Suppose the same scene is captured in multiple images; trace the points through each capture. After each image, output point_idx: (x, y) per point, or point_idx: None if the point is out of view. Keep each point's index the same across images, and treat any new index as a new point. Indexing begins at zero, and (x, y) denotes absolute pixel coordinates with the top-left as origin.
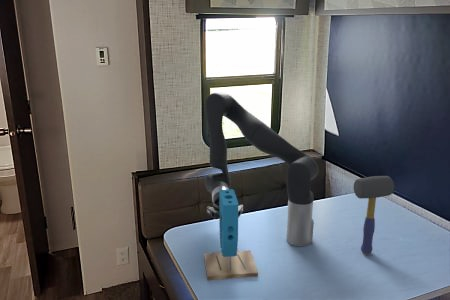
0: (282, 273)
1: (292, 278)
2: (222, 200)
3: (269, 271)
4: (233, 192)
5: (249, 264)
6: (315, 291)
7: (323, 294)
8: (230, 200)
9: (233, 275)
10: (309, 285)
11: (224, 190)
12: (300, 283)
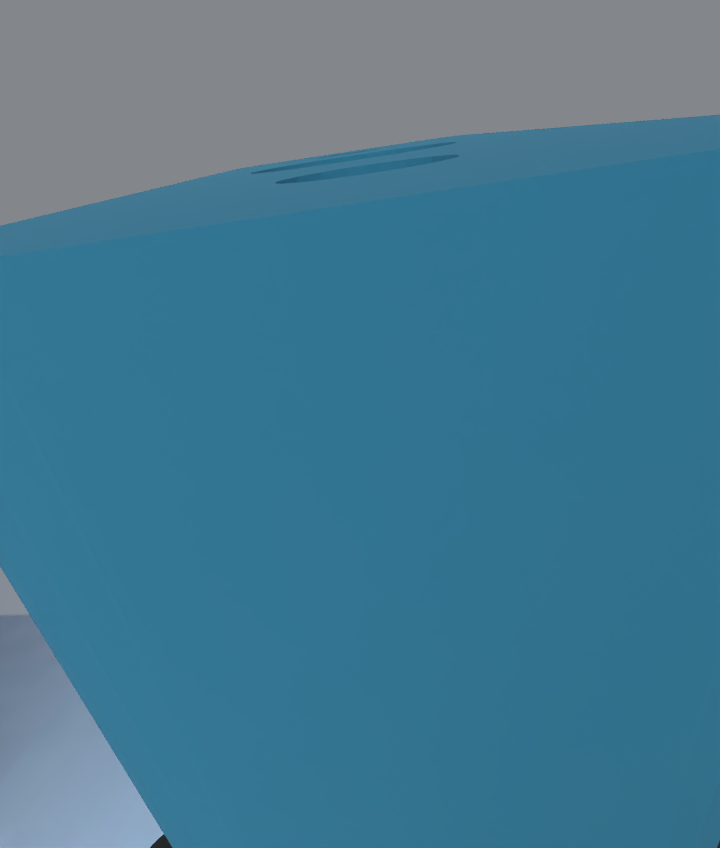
0: (68, 804)
1: (48, 744)
2: (482, 134)
3: (138, 835)
4: (105, 206)
5: None
6: (24, 638)
7: (10, 620)
8: (335, 156)
9: None
10: (12, 680)
11: (545, 160)
12: (41, 696)
